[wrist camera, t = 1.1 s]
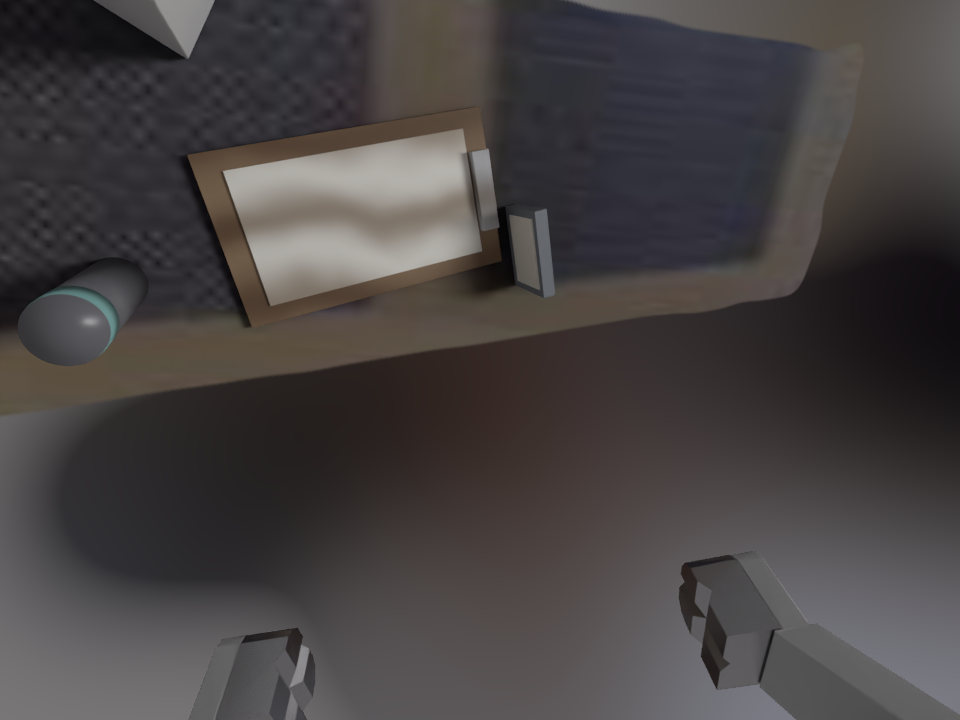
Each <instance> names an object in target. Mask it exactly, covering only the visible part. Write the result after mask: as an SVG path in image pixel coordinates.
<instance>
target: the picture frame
mask: <svg viewBox="0 0 960 720" xmlns="http://www.w3.org/2000/svg"><path fill="white" fill-rule="evenodd" d="M505 211H506V218H507V226H508V233H509V241H510V248H511V256H512V263H513V271H514V278H515V285H517V286H519V287H521V288H523V289H526V290H528V291H530V292H532V293H534V294H536V295H539V296H541V297H543V298H546V297H549V296H553V295H555V289H554V279H553V269H552V259H551V249H550V239H549V229H548V219H547V209H544V208H538V207H532V206H525V205H519V204H514V205H510V206H506V207H505Z"/></svg>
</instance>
